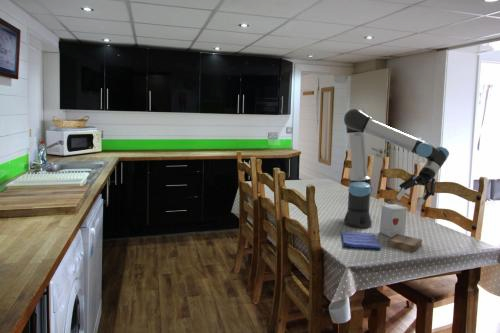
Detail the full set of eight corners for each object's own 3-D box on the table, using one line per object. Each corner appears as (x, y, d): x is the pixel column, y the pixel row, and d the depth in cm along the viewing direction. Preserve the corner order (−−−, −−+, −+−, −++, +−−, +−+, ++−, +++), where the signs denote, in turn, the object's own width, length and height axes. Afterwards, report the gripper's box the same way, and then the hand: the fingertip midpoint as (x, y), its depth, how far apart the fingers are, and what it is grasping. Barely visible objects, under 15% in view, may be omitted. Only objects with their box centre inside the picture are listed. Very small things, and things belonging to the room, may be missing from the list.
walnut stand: (387, 246, 183) (388, 239, 182) (396, 239, 192) (396, 233, 192) (414, 252, 175) (414, 245, 175) (421, 245, 185) (421, 239, 184)
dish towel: (342, 249, 179) (343, 243, 179) (340, 233, 202) (340, 228, 202) (381, 252, 176) (381, 246, 176) (374, 235, 199) (374, 230, 199)
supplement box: (389, 237, 195) (391, 208, 193) (379, 232, 204) (381, 204, 202) (405, 236, 197) (407, 208, 195) (394, 231, 206) (396, 203, 204)
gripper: (453, 179, 199) (432, 210, 194) (412, 172, 221) (392, 200, 216) (448, 169, 196) (426, 201, 191) (406, 163, 218) (386, 192, 212)
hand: (408, 201), depth 203 cm, fingers open, 13 cm apart
